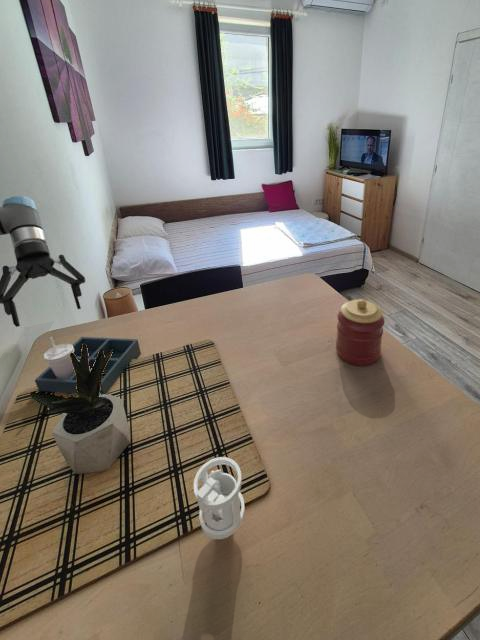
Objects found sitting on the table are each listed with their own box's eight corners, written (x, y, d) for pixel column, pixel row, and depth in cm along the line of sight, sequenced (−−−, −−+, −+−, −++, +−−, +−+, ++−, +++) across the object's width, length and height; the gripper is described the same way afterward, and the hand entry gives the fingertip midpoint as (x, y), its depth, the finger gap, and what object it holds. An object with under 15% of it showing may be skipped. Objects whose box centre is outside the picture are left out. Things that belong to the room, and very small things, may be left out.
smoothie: (56, 376, 87) (40, 333, 82) (84, 369, 90) (70, 326, 84) (52, 393, 82) (34, 348, 76) (81, 384, 84) (66, 340, 79)
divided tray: (40, 395, 82) (34, 380, 80) (86, 350, 98) (81, 336, 96) (105, 399, 81) (100, 384, 79) (141, 353, 97) (137, 339, 95)
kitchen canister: (389, 359, 93) (397, 306, 86) (350, 372, 88) (354, 317, 81) (363, 334, 104) (368, 285, 97) (327, 344, 99) (330, 293, 93)
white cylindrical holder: (195, 540, 53) (182, 481, 48) (225, 501, 59) (217, 444, 53) (226, 570, 50) (216, 510, 44) (255, 526, 55) (250, 467, 49)
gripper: (83, 243, 101) (102, 305, 96) (-24, 263, 87) (-8, 336, 82) (80, 231, 95) (101, 296, 90) (-34, 251, 81) (-18, 329, 76)
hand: (49, 316), depth 86 cm, fingers open, 13 cm apart
